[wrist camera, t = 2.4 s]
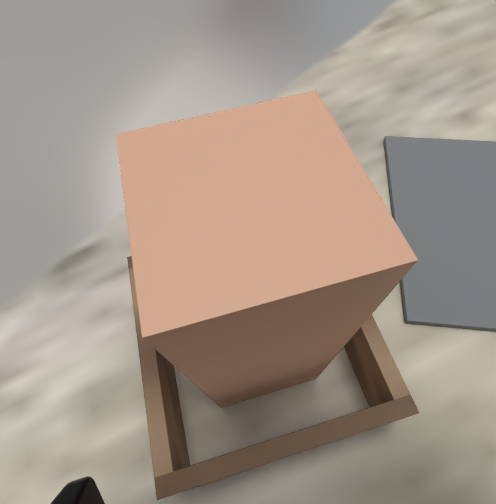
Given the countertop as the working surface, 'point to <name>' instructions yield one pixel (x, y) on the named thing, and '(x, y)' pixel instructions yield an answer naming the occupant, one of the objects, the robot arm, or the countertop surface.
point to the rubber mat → (446, 228)
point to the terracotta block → (255, 244)
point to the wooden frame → (187, 477)
